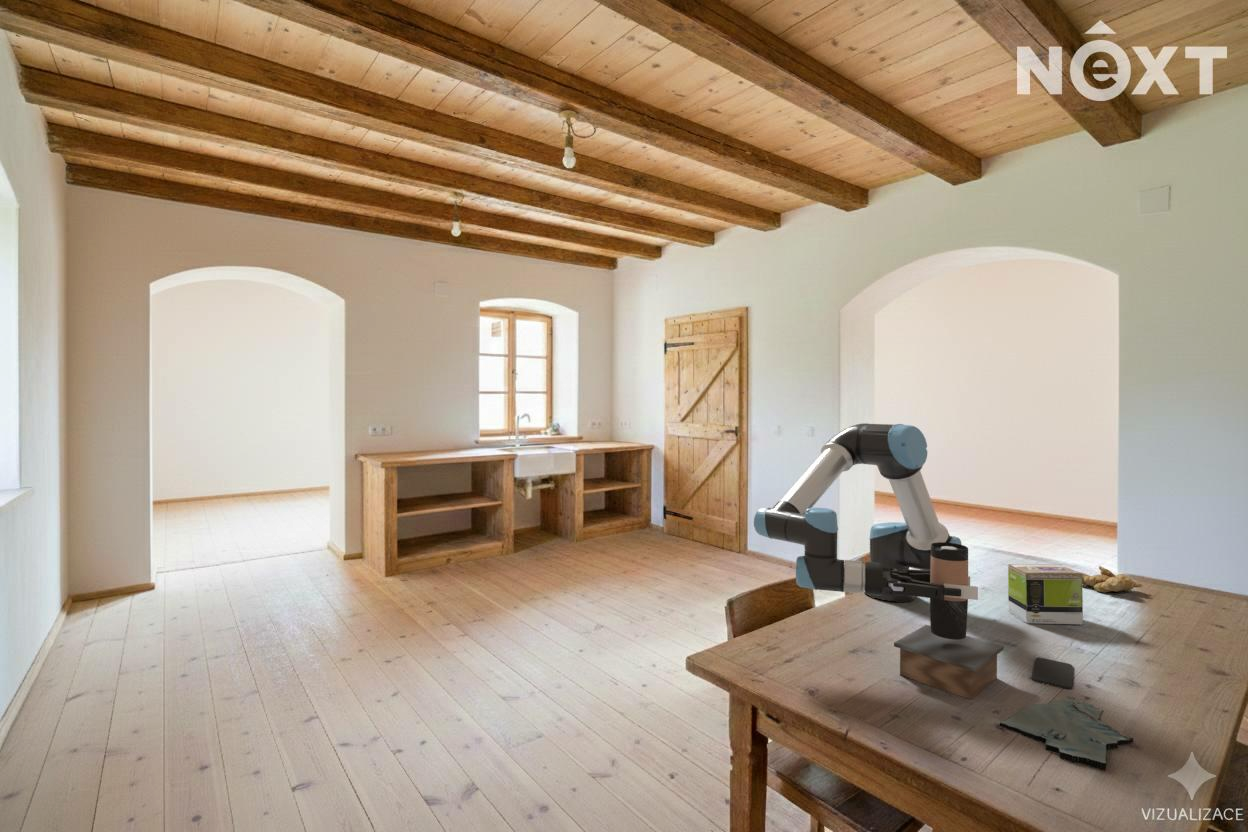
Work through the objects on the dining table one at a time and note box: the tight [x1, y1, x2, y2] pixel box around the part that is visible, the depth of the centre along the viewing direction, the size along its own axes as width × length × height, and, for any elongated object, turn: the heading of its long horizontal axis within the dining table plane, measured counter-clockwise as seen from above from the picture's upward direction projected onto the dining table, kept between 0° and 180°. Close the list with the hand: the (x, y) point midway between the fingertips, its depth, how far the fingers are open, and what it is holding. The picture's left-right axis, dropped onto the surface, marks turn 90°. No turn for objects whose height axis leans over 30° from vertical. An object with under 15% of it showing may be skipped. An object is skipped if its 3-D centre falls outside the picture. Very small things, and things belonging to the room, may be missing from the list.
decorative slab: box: [999, 696, 1134, 772], centre depth 115 cm, size 26×24×2 cm
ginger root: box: [1078, 565, 1143, 594], centre depth 198 cm, size 16×16×8 cm
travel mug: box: [929, 542, 969, 640], centre depth 137 cm, size 8×8×20 cm
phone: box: [1031, 657, 1074, 690], centre depth 139 cm, size 7×1×15 cm
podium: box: [893, 624, 1005, 700], centre depth 137 cm, size 17×17×7 cm
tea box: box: [1007, 563, 1084, 626], centre depth 173 cm, size 15×10×15 cm
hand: (973, 587), depth 135 cm, fingers closed on travel mug, 7 cm apart
